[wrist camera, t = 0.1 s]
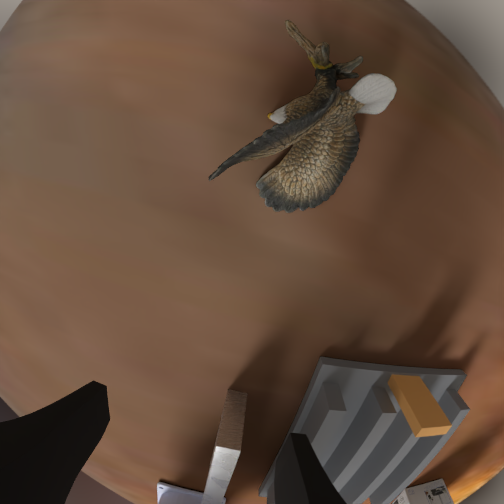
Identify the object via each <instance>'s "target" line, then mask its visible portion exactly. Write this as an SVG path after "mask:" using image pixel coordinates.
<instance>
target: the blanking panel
mask: <svg viewBox="0 0 504 504" xmlns="http://www.w3.org/2000/svg"><path fill="white" fill-rule="evenodd" d="M246 402H247V393H244V392H239V391H234V390H229V389H228V391H227V395H226V399H225V404H224V408H223V412H222V416H221V420H220V424H219V428H218V433H217V437H216V441H215V445H214V449H213V453H212V457H211V462H210V466H209V471H208V475H207V480H206V485H205V489H204V494H203V498H202V503H201V504H221V503H222V500H223V497H224V495H225V492H226V490H227V487H228V484H229V482H230V479H231V476H232V474H233V471H234V468H235V466H236V463H237V460H238V457H239V455H240V452H241V445H242V436H243V428H244V419H245V411H246Z"/></svg>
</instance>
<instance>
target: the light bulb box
mask: <svg viewBox="0 0 504 504" xmlns="http://www.w3.org/2000/svg"><path fill="white" fill-rule="evenodd" d="M392 504H454V503H453V500H452V498H451V496H450V494H449V492H448V489H447V487H446V485H445V483H444V481H443V479H439V480H435V481H432V482H429V483H425V484H421V485H418V486H414V487H409V488H405V489H404V490H403V491H402V493H401V494H400V495H399V496H398V497H397V498H396V499H395V501H394V502H393V503H392Z"/></svg>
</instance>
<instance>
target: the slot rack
mask: <svg viewBox="0 0 504 504" xmlns="http://www.w3.org/2000/svg"><path fill="white" fill-rule="evenodd" d="M466 376H467V375H466V374H465V373H464V372H463V370H462V369H436V368H419V367H406V366H394V365H384V364H374V363H365V362H357V361H349V360H342V359H334V358H328V357H321V356H320V358H319V361H318V364H317V366H316V369H315V371H314V374H313V376H312V379H311V381H310V384H309V386H308V388H307V391H306V393H305V396H304V398H303V400H302V403H301V405H300V407H299V409H298V412H297V414H296V416H295V418H294V421H293V423H292V425H291V427H290V429H289V431H288V434H287V436H286V438H285V440H284V442H283V444H282V446H281V448H280V450H279V452H278V454H277V456H276V458H275V460H274V462H273V464H272V466H271V468H270V470H269V472H268V474H267V475H266V477H265V479H264V481H263V483H262V485H261V487H260V488H259V496H261V497H267V504H275V495H274V476H275V465H276V460H277V458H278V456H279V454H280V452H281V450H282V448H283V446H284V444H285V442H286V440H287V438H288V436H289V434H290V433H300V434H306V435H307V437H308V439H309V441H310V443H311V445H312V448H313V450H314V452H315V454H316V456H317V458H318V459H319V461H320V463H321V465H322V467H323V469H324V470H325V472H326V474H327V475H328V477H329V479H330V480H331V482H332V484H333V485H334V487H335V488H336V490H337V491H338V492H339V494H340V495H341V497H342V498H343V499H344V501H345V502H346V503H347V504H362V503H363V502H364V501H365V500H366V499H367V498H368V497H369V498H370V502H371V504H389V503H391V502H392V501H393V500H394V499H395V498H396V497H397V496H398V495H399V494H400V493H401V492H402V491H403V490H404V489H405V488H406V487H407V486H408V485H409V484H410V483H411V482H412V481H413V480H414V479H415V478H416V477H417V476H418V475H419V474H420V473H421V472H422V470H423V469H424V468H425V467H426V466H427V465H428V464H429V463H430V461H431V460H432V459H433V458H434V457H435V456H436V454H437V453H438V452H439V451H440V450H441V448H442V447H443V446H444V445H445V443H446V442H447V441H448V439H449V438H450V437H451V435H452V434H453V433H454V431H455V430H456V429H457V427H458V426H459V425H460V423H461V422H462V420H463V419H464V417H465V416H466V415H467V413H468V412H469V410H470V408H469V407H468V406H467V404H466V403H465V402H464V400H463V399H462V398H461V396H460V395H459V394H458V393H457V392H458V390H459V388H460V386H461V385H462V383H463V381H464V379H465V378H466Z"/></svg>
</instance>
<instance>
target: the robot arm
mask: <svg viewBox="0 0 504 504" xmlns="http://www.w3.org/2000/svg"><path fill="white" fill-rule="evenodd" d="M109 421H110V414H109V406H108V397H107V386H105V385H103V384H100V383H98V382H96V381H92V382H90V383H88V384H86V385H85V386H83V387H81V388H80V389H78V390H76V391H74V392H73V393H71V394H69V395H67V396H66V397H64V398H62V399H60V400H58V401H56V402H54V403H52V404H50V405H48V406H46V407H44V408H42V409H40V410H37V411H35V412H33V413H30V414H28V415H25V416H22V417H19V418H16V419H13V420H9V421H5V422H0V504H65V501H66V498H67V496H68V494H69V492H70V489H71V487H72V485H73V483H74V481H75V479H76V477H77V475H78V473H79V472H80V470H81V469H82V467H83V466H84V464H85V463H86V461H87V460H88V458H89V457H90V455H91V454H92V452H93V451H94V449H95V447H96V446H97V444H98V443H99V441H100V440H101V438H102V436H103V434H104V432H105V430H106V427H107V425H108V423H109ZM203 494H204V493H201V492H197V491H192V490H188V489H184V488H180V487H177V486H173V485H170V484H166V483H163V482H158V484H157V495H158V504H201V503H202V498H203ZM274 495H275V504H347V503H346V502H345V501H344V499H343V498H342V497H341V495H340V494H339V492H338V491H337V490H336V488H335V487H334V485H333V484H332V482H331V480H330V479H329V477H328V475H327V474H326V472H325V470H324V469H323V467H322V465H321V463H320V461H319V459H318V458H317V456H316V454H315V452H314V450H313V448H312V445H311V443H310V441H309V439H308V437H307V435H306V434H300V433H290V434H289V436H288V438H287V440H286V442H285V444H284V446H283V448H282V450H281V452H280V454H279V456H278V458H277V460H276V465H275V476H274ZM225 502H226V498H225V497H223V500H222V503H221V504H225Z"/></svg>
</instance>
